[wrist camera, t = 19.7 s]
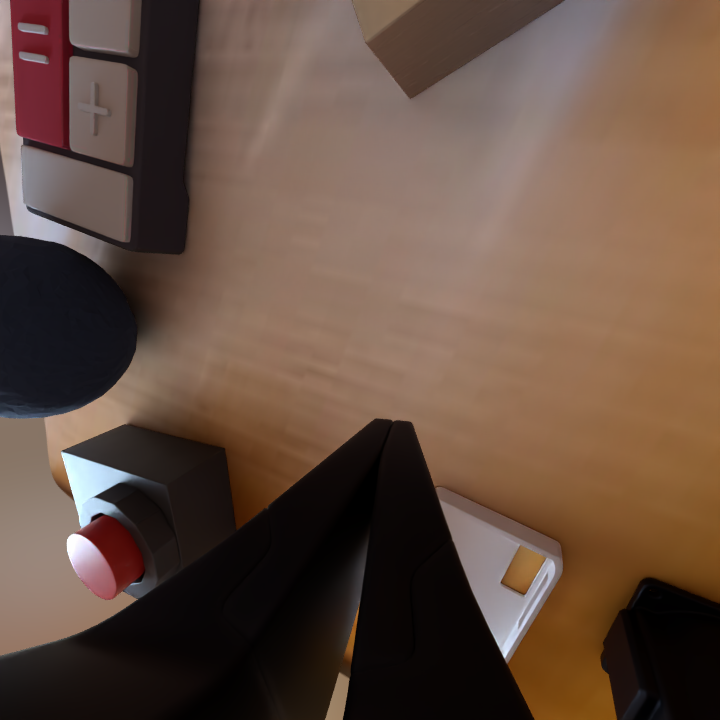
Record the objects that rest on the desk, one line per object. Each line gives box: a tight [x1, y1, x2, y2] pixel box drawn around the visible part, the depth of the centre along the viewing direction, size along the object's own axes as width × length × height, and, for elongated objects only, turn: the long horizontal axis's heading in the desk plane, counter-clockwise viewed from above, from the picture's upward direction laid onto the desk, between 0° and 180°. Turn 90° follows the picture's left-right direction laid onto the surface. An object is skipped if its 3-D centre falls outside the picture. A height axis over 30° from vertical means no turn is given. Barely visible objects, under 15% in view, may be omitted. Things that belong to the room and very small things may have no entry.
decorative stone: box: [0, 235, 137, 418], centre depth 25 cm, size 12×12×10 cm
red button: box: [67, 515, 145, 600], centre depth 25 cm, size 5×5×2 cm
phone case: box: [435, 487, 563, 664], centre depth 23 cm, size 7×1×15 cm
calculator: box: [10, 0, 199, 255], centre depth 22 cm, size 11×4×15 cm
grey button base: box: [61, 424, 236, 599], centre depth 29 cm, size 12×10×7 cm
